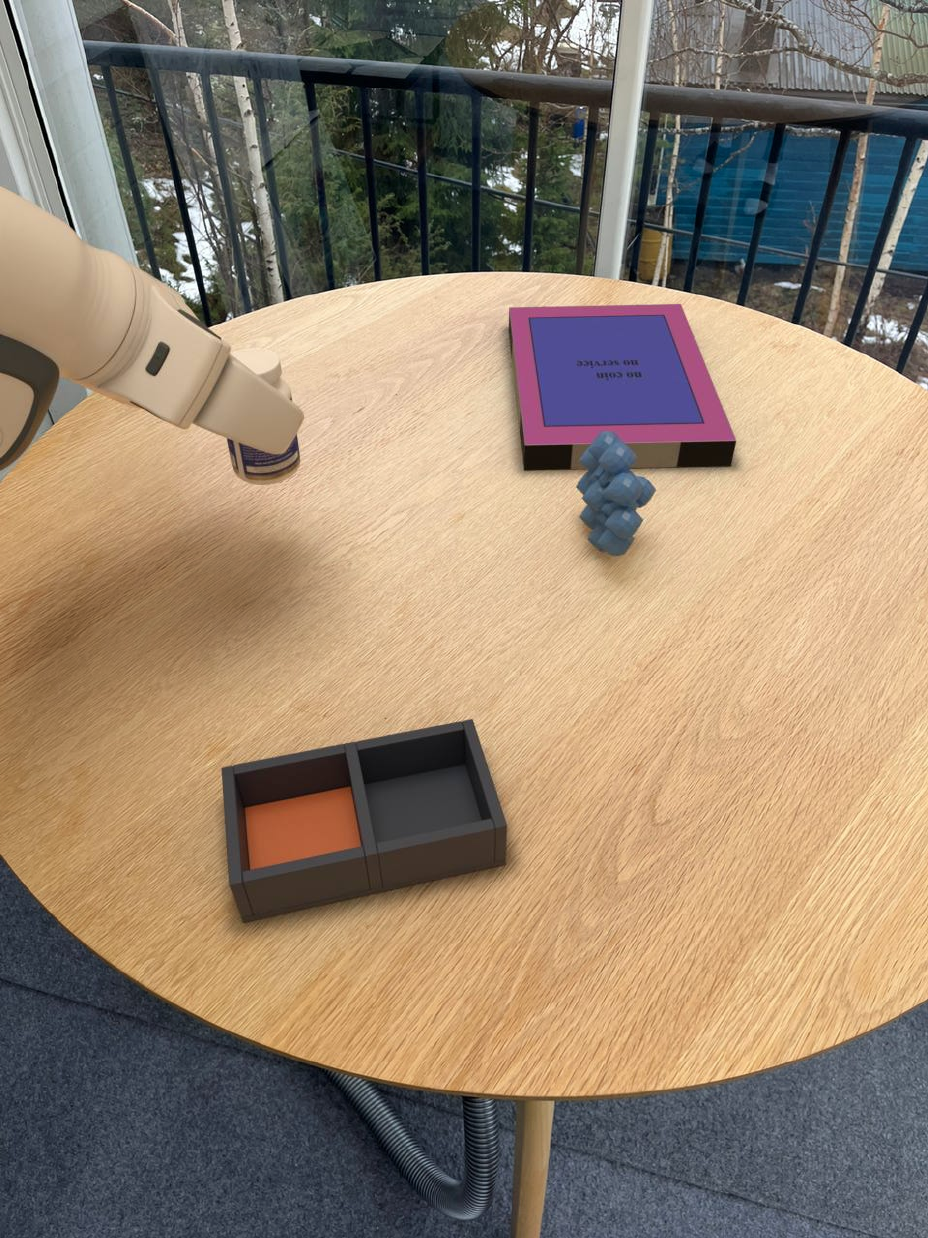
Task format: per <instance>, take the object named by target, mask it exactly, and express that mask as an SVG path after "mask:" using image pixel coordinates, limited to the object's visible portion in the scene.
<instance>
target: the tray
mask: <svg viewBox="0 0 928 1238" xmlns="http://www.w3.org/2000/svg"><path fill="white" fill-rule="evenodd" d="M492 777H493V776H492V774H491V771H490V768H489V765H488V762H487V759H486V756H485V753H484V749H483V747H482V743H481V739H480V736H479V734H478V731H477V728H476V724H475V722H474V719H473V718H470V719H469V718H468V719H463V720H459V721H454V722H448V723H444V724H439V725H434V726H429V727H423V728H419V729H413V730H408V731H402V732H398V733H397V732H396V733H393V734H388V735H383V736H377V737H371V738H367V739H366V738H365V739H362V740H356V741H350V742H345V743H340V744H335V745H330V746H325V747H319V748H313V749H309V750H303V751H299V752H294V753H288V754H283V755H278V756H273V757H268V758H264V759H257V760H252V761H247V762H242V763H236V764H233V765H228V766H223V767H221V783H222V784H221V785H222V796H223V797H222V798H223V810H224V811H223V813H224V825H225V826H224V827H225V840H226V841H225V842H226V843H225V844H226V854H227V855H226V857H227V869H228V870H227V872H228V885H229V888H230V890H231V894H232V897H233V899H234V902H235V904H236V908H237V911H238V913H239V916H240V920H241V922H242V923H248V922H252V921H253V922H254V921H257V920H261V919H265V918H271V917H275V916H279V915H284V914H287V913H288V914H289V913H294V912H298V911H303V910H307V909H311V908H316V907H321V906H324V905H329V904H334V903H338V902H342V901H347V900H351V899H357V898H361V897H366V896H369V895H374V894H379V893H384V892H388V891H392V890H397V889H401V888H406V887H411V886H414V885H420V884H424V883H428V882H434V881H437V880H438V881H439V880H442V879H446V878H452V877H456V876H460V875H461V876H462V875H464V874H470V873H474V872H478V871H484V870H487V869H491V868H496V867H502V866H506V865H507V839H508V824H507V821H506V818H505V815H504V812H503V809H502V805H501V802H500V799H499V796H498V793H497V790H496V787H495V784H494V781H493V778H492Z"/></svg>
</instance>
